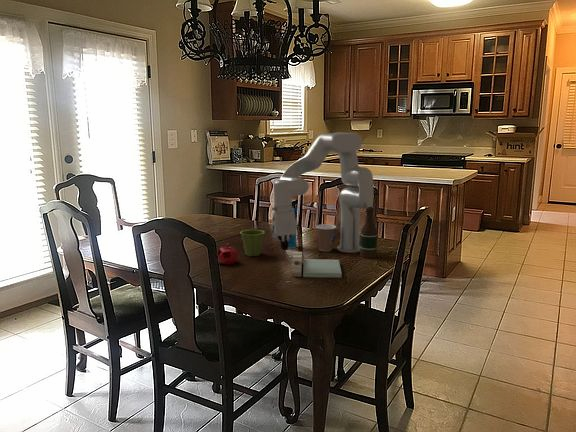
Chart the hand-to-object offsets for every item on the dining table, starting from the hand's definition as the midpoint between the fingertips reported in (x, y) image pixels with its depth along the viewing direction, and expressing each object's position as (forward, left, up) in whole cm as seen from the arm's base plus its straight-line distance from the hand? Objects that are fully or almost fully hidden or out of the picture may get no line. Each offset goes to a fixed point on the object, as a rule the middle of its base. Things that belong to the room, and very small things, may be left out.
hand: (284, 249), depth 208 cm
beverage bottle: (-36, 0, -9) cm, 38 cm away
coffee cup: (-32, +19, -9) cm, 39 cm away
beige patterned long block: (+2, +6, -8) cm, 10 cm away
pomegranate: (-7, -27, -9) cm, 29 cm away
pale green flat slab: (+2, +16, -9) cm, 19 cm away
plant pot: (-21, -17, -9) cm, 29 cm away
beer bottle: (-20, +39, -9) cm, 45 cm away
